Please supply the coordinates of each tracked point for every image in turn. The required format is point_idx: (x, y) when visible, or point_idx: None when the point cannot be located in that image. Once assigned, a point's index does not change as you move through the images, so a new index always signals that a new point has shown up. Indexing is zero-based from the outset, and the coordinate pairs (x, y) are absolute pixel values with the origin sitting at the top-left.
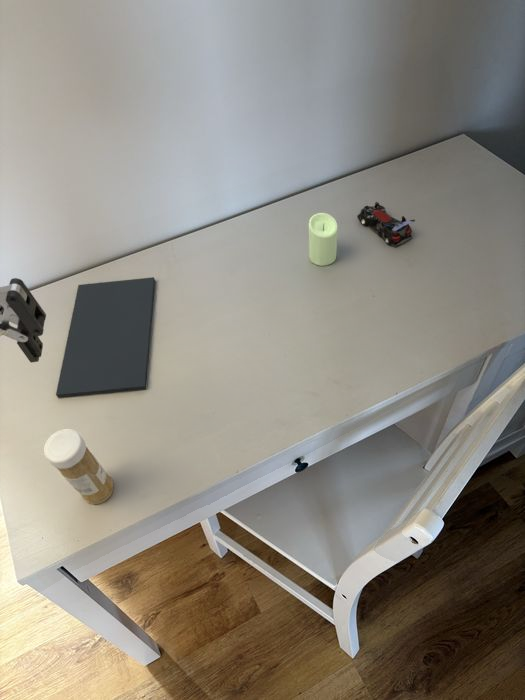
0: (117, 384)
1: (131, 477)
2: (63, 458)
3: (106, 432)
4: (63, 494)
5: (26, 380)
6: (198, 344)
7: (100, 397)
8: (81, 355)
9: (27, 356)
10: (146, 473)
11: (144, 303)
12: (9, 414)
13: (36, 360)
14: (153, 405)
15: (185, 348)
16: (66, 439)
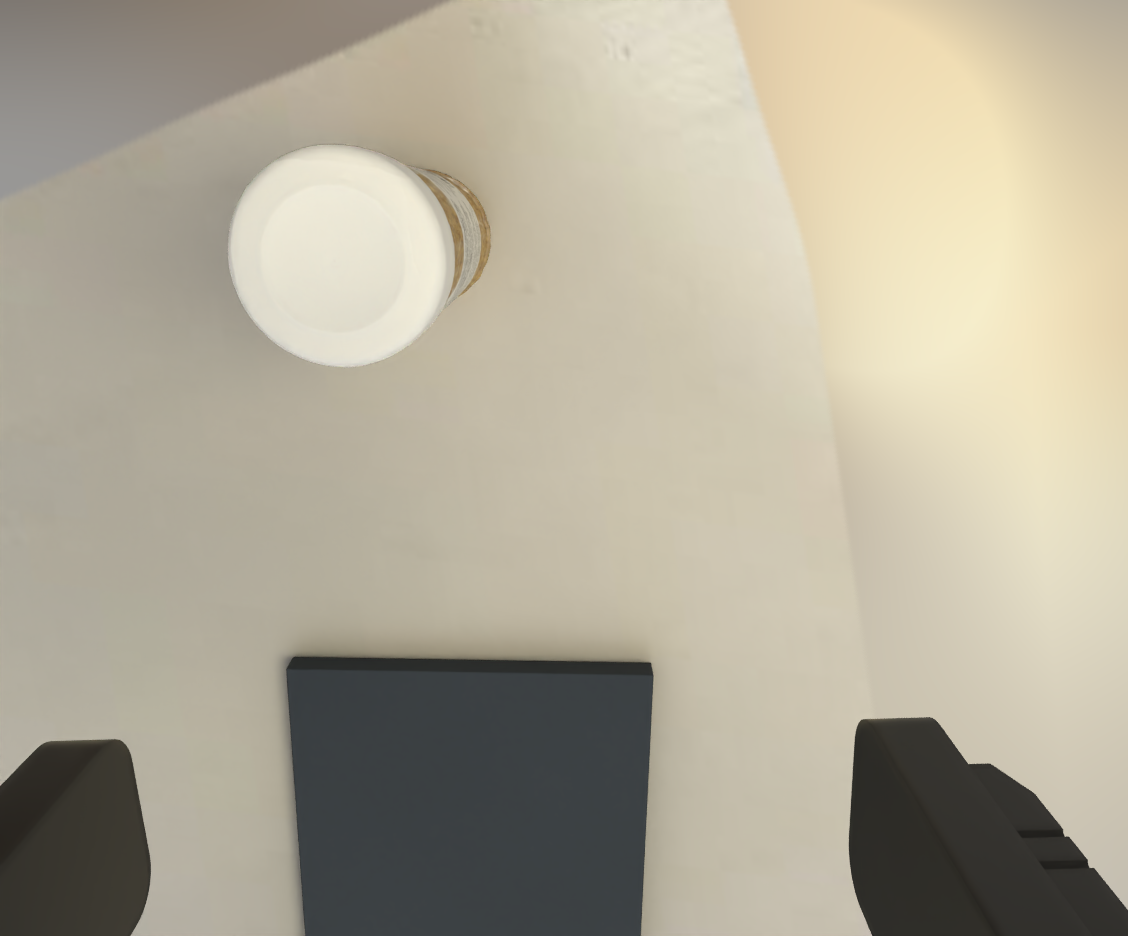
0: (400, 690)
1: None
2: (303, 163)
3: (430, 488)
4: (568, 234)
5: (793, 756)
6: None
7: (477, 645)
8: (570, 837)
9: (39, 802)
10: None
11: None
12: (842, 615)
13: (37, 753)
14: (253, 583)
15: (159, 818)
16: (311, 290)
